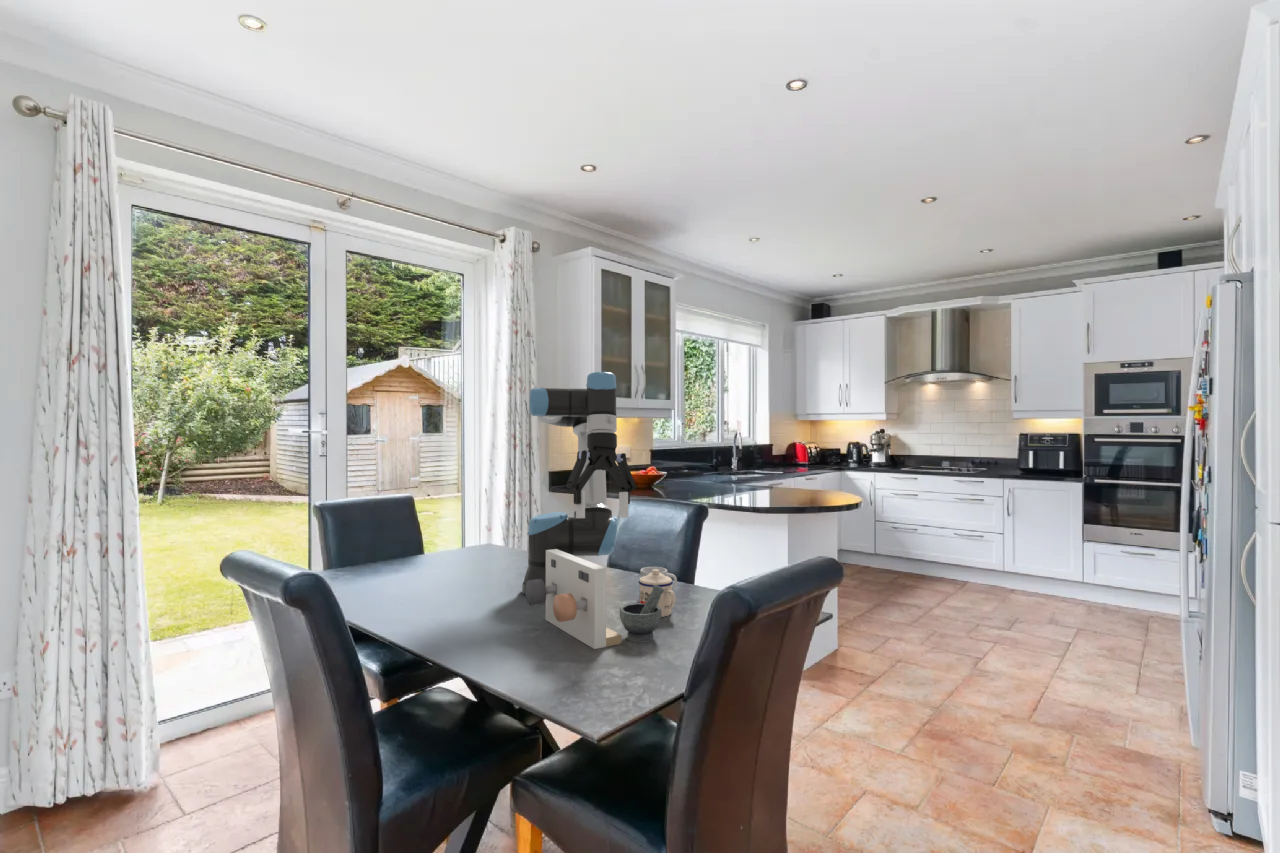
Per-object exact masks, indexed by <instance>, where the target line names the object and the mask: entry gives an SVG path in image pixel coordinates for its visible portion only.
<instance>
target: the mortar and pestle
mask: <svg viewBox="0 0 1280 853" xmlns="http://www.w3.org/2000/svg"><path fill="white" fill-rule="evenodd" d="M663 592H664V589H663V588H662V587H660V586H658V585H654V586H653V590H652V592H651V594H650V596H649V598H648V600H647V602H646V603H645V604H641V603H640V602H638V603H631V604H625V605H623V606H621V607H620V608H619V617H620V622H621V623H622V625H623V628H624V629H625V630H626V631H627V635H626V638H627V639H628V641H631V642H634V643H646V642H651V641H652V640H653V639H654V633H653V632H654V631H655V630H656V629H657V628H658V627H659V625H660V623H661V619H662V617H661V609H660V608H659V607H658V606H657V604H658V602H659V599H660V596H661V594H662V593H663Z"/></svg>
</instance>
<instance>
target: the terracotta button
mask: <svg viewBox="0 0 1280 853" xmlns="http://www.w3.org/2000/svg"><path fill="white" fill-rule="evenodd" d="M585 608H587V599H585V600H579V601H575V598H574V596H573V595H572V594H571V593H566V594H560V595H556V596H555V597H554V600H553V611H554V615H555V617H556V619H557V621H559V622H563V621H569V620H573V619H575V617H576V613H577V610H579V609H585Z"/></svg>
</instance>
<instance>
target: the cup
mask: <svg viewBox="0 0 1280 853" xmlns="http://www.w3.org/2000/svg"><path fill="white" fill-rule="evenodd" d="M654 569H658V570H659V573H661V574H663V575H665V576H667V577H670V578H671V579H672V580H673V584H672V591H673V590H674V589H675V588H676V587H677V585H678V578H677V576H676V575H675V574H673V573H670V572H668V569H667V568H664V567H662V566H661V567H660V566H646V567H642V568H640V570H639V572H640V578H641V577H644V576H647V575H648V574H650V573H652V570H654Z"/></svg>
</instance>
